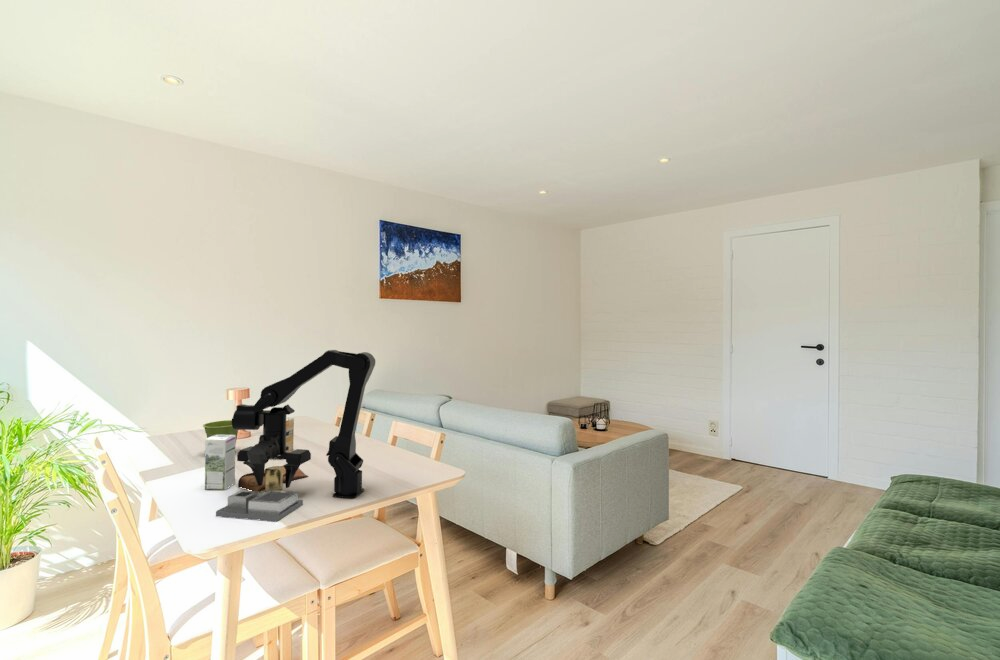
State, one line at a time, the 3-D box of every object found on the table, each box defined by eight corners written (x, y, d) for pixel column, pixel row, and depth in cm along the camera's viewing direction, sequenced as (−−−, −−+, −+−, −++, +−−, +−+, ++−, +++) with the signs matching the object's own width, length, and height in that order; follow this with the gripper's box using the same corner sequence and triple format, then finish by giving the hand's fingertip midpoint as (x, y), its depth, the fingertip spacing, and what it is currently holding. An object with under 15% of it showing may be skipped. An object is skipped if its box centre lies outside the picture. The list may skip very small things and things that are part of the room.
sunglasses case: (255, 492, 129) (248, 470, 131) (242, 501, 132) (235, 479, 134) (311, 476, 144) (304, 455, 146) (298, 484, 148) (291, 464, 149)
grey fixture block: (302, 504, 122) (303, 490, 122) (276, 521, 111) (276, 506, 111) (246, 499, 124) (247, 486, 124) (215, 516, 113) (216, 501, 113)
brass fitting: (285, 491, 131) (286, 466, 131) (276, 497, 126) (276, 471, 126) (271, 490, 131) (271, 465, 131) (261, 496, 127) (261, 470, 127)
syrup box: (235, 483, 137) (236, 433, 137) (224, 490, 131) (225, 438, 131) (215, 483, 136) (216, 433, 136) (203, 490, 130) (204, 438, 130)
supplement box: (282, 459, 161) (283, 421, 161) (268, 459, 161) (269, 421, 161) (294, 453, 170) (294, 417, 169) (281, 453, 170) (281, 417, 170)
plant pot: (225, 449, 173) (226, 418, 173) (248, 453, 169) (249, 421, 169) (194, 457, 162) (194, 424, 162) (217, 461, 158) (218, 428, 158)
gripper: (222, 434, 122) (221, 494, 122) (288, 438, 119) (287, 499, 120) (251, 425, 133) (250, 480, 133) (312, 429, 131) (311, 485, 131)
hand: (273, 486), depth 129 cm, fingers open, 8 cm apart
